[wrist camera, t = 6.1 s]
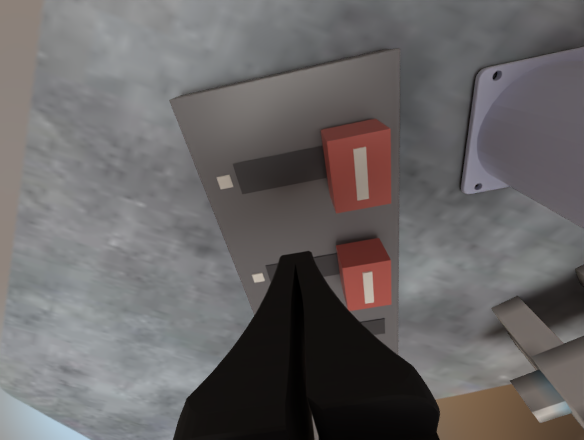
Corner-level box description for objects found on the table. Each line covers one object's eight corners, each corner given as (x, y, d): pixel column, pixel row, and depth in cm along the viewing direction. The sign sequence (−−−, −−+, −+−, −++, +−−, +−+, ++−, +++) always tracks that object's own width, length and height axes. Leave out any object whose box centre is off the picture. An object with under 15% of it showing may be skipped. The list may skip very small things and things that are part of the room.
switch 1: (375, 118, 15) (391, 129, 13) (377, 185, 17) (391, 204, 15) (320, 129, 15) (327, 142, 13) (329, 194, 17) (336, 214, 15)
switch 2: (379, 237, 19) (391, 261, 17) (380, 279, 21) (391, 305, 19) (335, 245, 19) (342, 269, 17) (341, 286, 21) (348, 312, 19)
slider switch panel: (386, 48, 15) (400, 48, 13) (391, 338, 29) (398, 357, 27) (181, 95, 16) (168, 100, 14) (278, 355, 29) (277, 374, 28)
